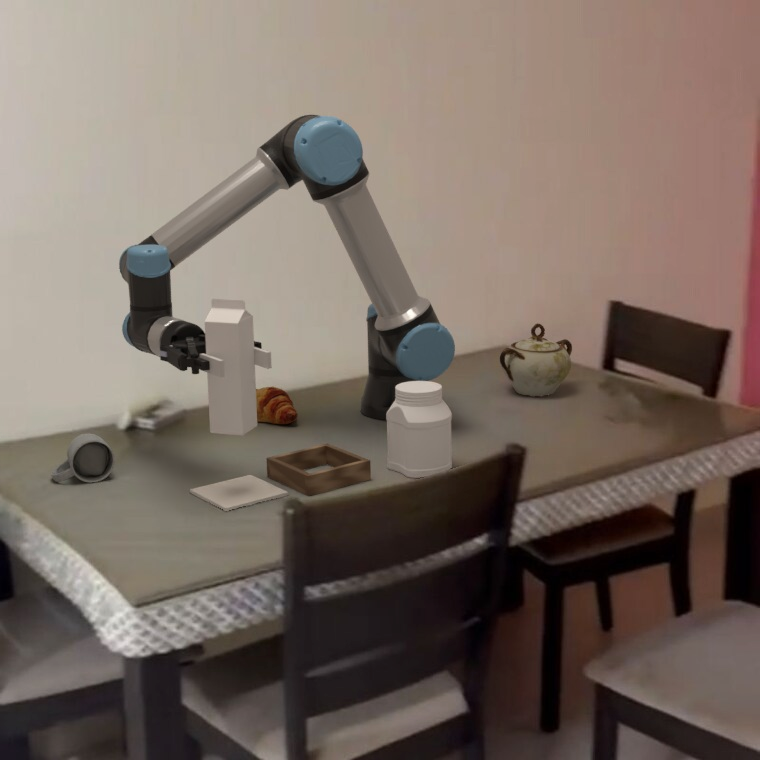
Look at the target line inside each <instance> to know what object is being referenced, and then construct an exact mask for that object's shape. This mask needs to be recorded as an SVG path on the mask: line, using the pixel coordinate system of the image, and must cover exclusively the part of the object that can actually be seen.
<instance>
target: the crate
mask: <svg viewBox="0 0 760 760" xmlns="http://www.w3.org/2000/svg"><path fill="white" fill-rule="evenodd" d="M324 464H326V465H327V464H328V465H327V466H329V465H331V466H330V468H326V469H322V470H318V471H314V472H310V473H309V472H306V471H305V470H308V469H313V468H312V467H314V468H317V466H318V467H321V466H320V465H322V466H325V465H324ZM332 466H333V467H332ZM371 469H372V468H371V460H370V459H368V458H365V457H363V456H360V455H357V454H355V453H353V452H351V451H347V450H345V449H342V448H339V447H337V446H334V445H332V444H330V443H323V444H320V445H314V446H311V447H310V446H309V447H307V448H303V449H298V450H294V451H290V452H289V451H288V452H286V453H282V454H281V453H280V454H278V455H273V456H269V457H266V477H267V478H269V479H271V480H274V481H275V482H278V483H280V484H282V485H284V486H286V487H289V488H290V489H292V490H295V491H296V492H299V493H301V494H303V495H305V496H308V497H310V496H314V495H318V494H321V493H322V494H323V493H325V492H329V491H333V490H337V489H340V488H344V487H348V486H353V485H356V484H360V483H363V482H367V481H370V480H371V479H372V478H371V477H372V474H371V473H372V472H371V471H372V470H371Z"/></svg>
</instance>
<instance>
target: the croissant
mask: <svg viewBox="0 0 760 760" xmlns="http://www.w3.org/2000/svg"><path fill="white" fill-rule="evenodd" d="M256 405H257V423H260V422H261V423H270V424H274V425H288V424H289V425H290V424H291V423H294V422H295V421H296V420H297V419H298V412H297V410H296V408H295V407H294V402H293V400H292V399H291V397H290V396H289V394H288V393H287V392H286V390H284V389H282V388H279V387H276V386H266V387H262V388H261V387H260V388H256Z"/></svg>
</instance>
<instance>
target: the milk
mask: <svg viewBox="0 0 760 760" xmlns="http://www.w3.org/2000/svg"><path fill="white" fill-rule="evenodd" d="M210 302H211V308H210V310H209V312H208V314H207V316H206V318H205V319H204V333H205V339H206V354H207V355H210V356H213V357H216V358H219V359H222V360H224V373H225V377H218V376H215V375H213V374H210V373H207V372H206V373H207V376H206V377H207V394H208V395H207V396H208V411H209V412H208V413H209V415H208V416H209V432H210V433H211V434H221V435H233V436H245V435H246V434H248V433H249V432H251V430H253V429H254V428H256V427H257V426H258V422H257V405H256V389H257V387H256V386H257V385H256V384H257V383H256V365H255V356H254V341H255V335H254V333H255V332H254V316H253V315H252V314H251V313H250V312H249V311H248V310H247V309H246V302H245V300H243V299H225V298H212V299H211V301H210Z"/></svg>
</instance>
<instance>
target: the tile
mask: <svg viewBox="0 0 760 760" xmlns="http://www.w3.org/2000/svg"><path fill="white" fill-rule="evenodd" d="M189 493H190V494H191V495H193V496H195V497H197V498H199V499H201V500H203V501H205V502H207V503H209V502H210V503H211V505H212V504H213V506H214V505H215V507H216V506H217V507H216V508H218V507H219V508H218V509H220V508H221V509H220V510H222V509H223V510H222V511H224V512H226V511H227V512H230V511H229V510H231V511H233V510H232V509H235V508H238V507H242V506H245V505H248V504H254V503H257V502H261V503H263V502H262V501H265V502H267V501H266V500H269V501H271V499H273V500H276V498H277V499H280V498H284V497H287V496H289V492H288V491H286V490H285V489H282V488H280V487H278V486H276V485H273V484H271V483H270V482H268V481H265V480H263V479H261V478H259V477H257V476H254V475H252V474H247V475H244V476H239V477H235V478H232V479H227V480H223V481H219V482H215V483H211V484H206V485H203V486H202V485H201V486H198V487H194V488H190V489H189ZM210 503H209V504H210ZM254 505H255V504H254ZM242 508H243V507H242ZM235 510H236V509H235Z"/></svg>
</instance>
